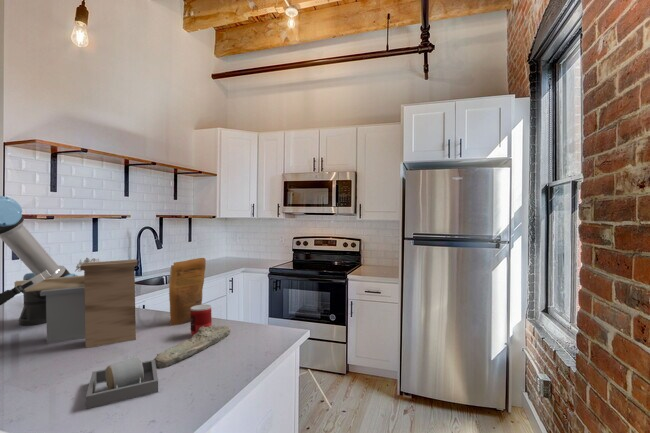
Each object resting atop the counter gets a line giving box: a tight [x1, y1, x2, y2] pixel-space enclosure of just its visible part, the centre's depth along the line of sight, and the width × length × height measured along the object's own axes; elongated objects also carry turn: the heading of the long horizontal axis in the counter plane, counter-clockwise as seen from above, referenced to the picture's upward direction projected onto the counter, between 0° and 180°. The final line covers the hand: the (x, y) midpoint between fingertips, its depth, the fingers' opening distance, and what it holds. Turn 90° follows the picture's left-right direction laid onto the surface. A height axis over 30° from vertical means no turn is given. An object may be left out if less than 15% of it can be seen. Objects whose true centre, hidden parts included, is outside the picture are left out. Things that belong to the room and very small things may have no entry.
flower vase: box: [74, 257, 100, 273], centre depth 197 cm, size 13×18×25 cm
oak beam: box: [14, 274, 85, 292], centre depth 137 cm, size 6×30×5 cm, turn 119°
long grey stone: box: [152, 325, 231, 369], centre depth 124 cm, size 35×5×10 cm
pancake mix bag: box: [168, 257, 207, 326], centre depth 156 cm, size 7×19×28 cm, turn 144°
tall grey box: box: [40, 286, 86, 345], centre depth 138 cm, size 10×20×20 cm, turn 119°
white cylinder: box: [105, 355, 145, 390], centre depth 94 cm, size 11×8×8 cm
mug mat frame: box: [85, 359, 159, 410], centre depth 95 cm, size 16×16×3 cm
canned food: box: [190, 304, 213, 337], centre depth 138 cm, size 8×8×11 cm
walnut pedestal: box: [79, 258, 138, 349], centre depth 133 cm, size 11×18×30 cm, turn 119°
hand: (45, 274), depth 134 cm, fingers open, 9 cm apart
